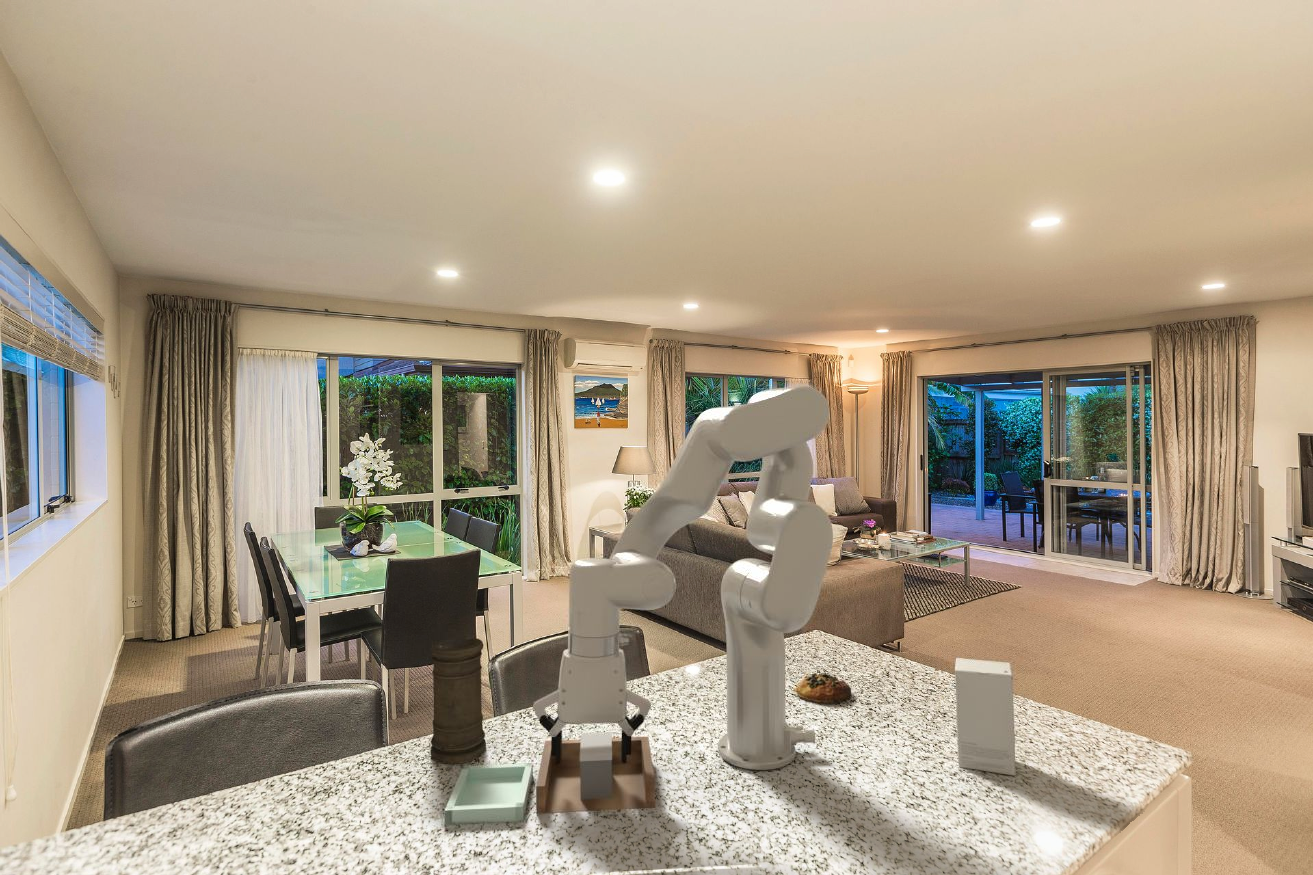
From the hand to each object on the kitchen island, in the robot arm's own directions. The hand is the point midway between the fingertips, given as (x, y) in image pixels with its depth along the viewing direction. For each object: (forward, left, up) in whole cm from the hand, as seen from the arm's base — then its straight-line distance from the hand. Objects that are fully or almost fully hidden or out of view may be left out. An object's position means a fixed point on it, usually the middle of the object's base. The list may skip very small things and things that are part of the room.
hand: (591, 759), depth 101 cm
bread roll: (-46, -33, -5) cm, 57 cm away
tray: (+14, +2, -4) cm, 15 cm away
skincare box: (-62, -2, -5) cm, 62 cm away
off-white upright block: (-1, 0, -4) cm, 4 cm away
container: (+22, -14, -5) cm, 27 cm away
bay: (-1, 0, -4) cm, 5 cm away
